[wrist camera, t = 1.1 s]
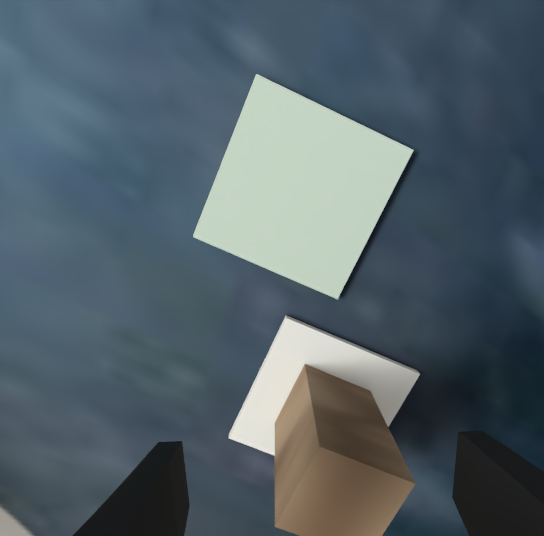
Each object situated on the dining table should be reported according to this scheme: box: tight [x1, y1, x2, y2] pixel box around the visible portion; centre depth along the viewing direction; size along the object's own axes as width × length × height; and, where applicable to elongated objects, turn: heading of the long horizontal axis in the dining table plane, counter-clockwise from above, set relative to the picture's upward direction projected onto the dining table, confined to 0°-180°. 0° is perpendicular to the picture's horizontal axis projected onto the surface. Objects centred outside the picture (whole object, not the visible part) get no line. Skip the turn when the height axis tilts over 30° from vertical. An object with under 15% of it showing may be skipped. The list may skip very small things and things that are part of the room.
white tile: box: [229, 315, 420, 456], centre depth 19 cm, size 8×8×1 cm
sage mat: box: [193, 74, 413, 299], centre depth 16 cm, size 8×8×1 cm
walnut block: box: [275, 364, 416, 536], centre depth 16 cm, size 4×4×6 cm
